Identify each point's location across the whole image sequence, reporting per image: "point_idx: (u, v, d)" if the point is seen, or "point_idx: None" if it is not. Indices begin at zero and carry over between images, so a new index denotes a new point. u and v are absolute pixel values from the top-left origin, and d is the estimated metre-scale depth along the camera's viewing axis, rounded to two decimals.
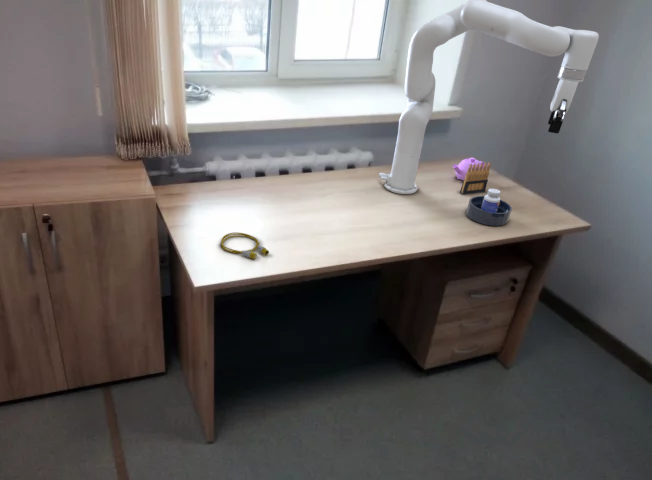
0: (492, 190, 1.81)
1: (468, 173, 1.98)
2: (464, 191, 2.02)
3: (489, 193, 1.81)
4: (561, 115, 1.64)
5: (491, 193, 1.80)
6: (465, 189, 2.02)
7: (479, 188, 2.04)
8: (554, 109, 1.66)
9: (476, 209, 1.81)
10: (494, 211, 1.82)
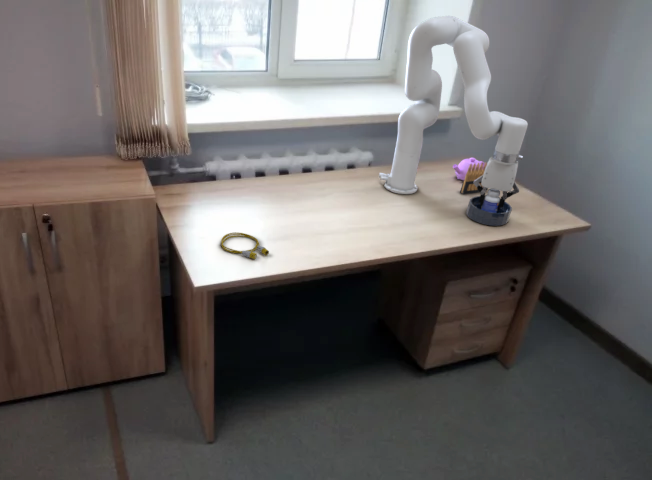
0: (492, 190, 1.81)
1: (468, 173, 1.98)
2: (464, 191, 2.02)
3: (489, 193, 1.81)
4: (477, 186, 1.82)
5: (491, 193, 1.80)
6: (465, 189, 2.02)
7: None
8: None
9: (476, 209, 1.81)
10: (494, 211, 1.82)
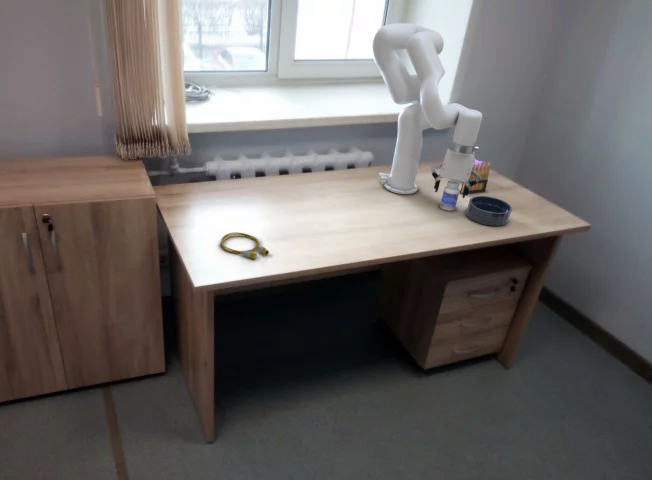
0: (451, 182, 1.86)
1: None
2: None
3: (448, 185, 1.86)
4: (432, 173, 1.87)
5: (450, 185, 1.85)
6: None
7: (479, 188, 2.04)
8: None
9: (476, 209, 1.81)
10: (453, 202, 1.87)
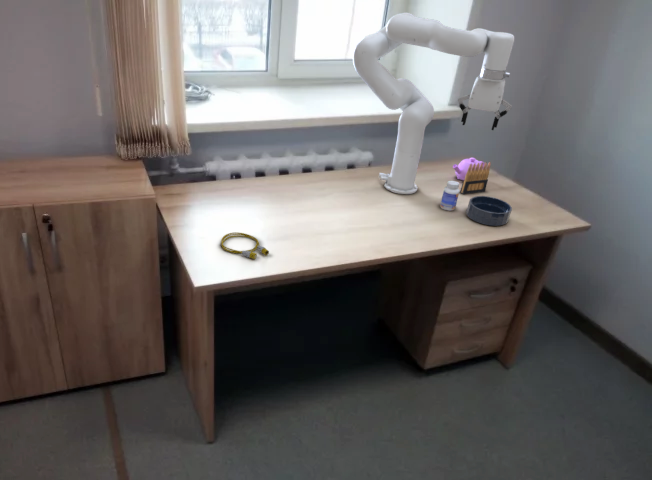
0: (451, 182, 1.86)
1: (468, 173, 1.98)
2: (464, 191, 2.02)
3: (448, 185, 1.86)
4: (459, 104, 1.79)
5: (450, 185, 1.85)
6: (465, 189, 2.02)
7: (479, 188, 2.04)
8: None
9: (476, 209, 1.81)
10: (453, 202, 1.87)
